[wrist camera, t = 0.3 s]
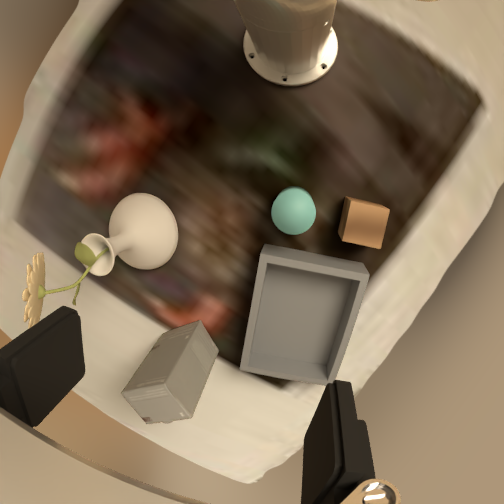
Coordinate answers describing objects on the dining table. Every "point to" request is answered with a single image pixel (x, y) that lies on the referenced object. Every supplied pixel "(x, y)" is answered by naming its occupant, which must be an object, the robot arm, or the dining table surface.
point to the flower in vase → (113, 247)
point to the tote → (302, 314)
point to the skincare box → (172, 375)
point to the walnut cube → (363, 222)
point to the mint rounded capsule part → (293, 210)
